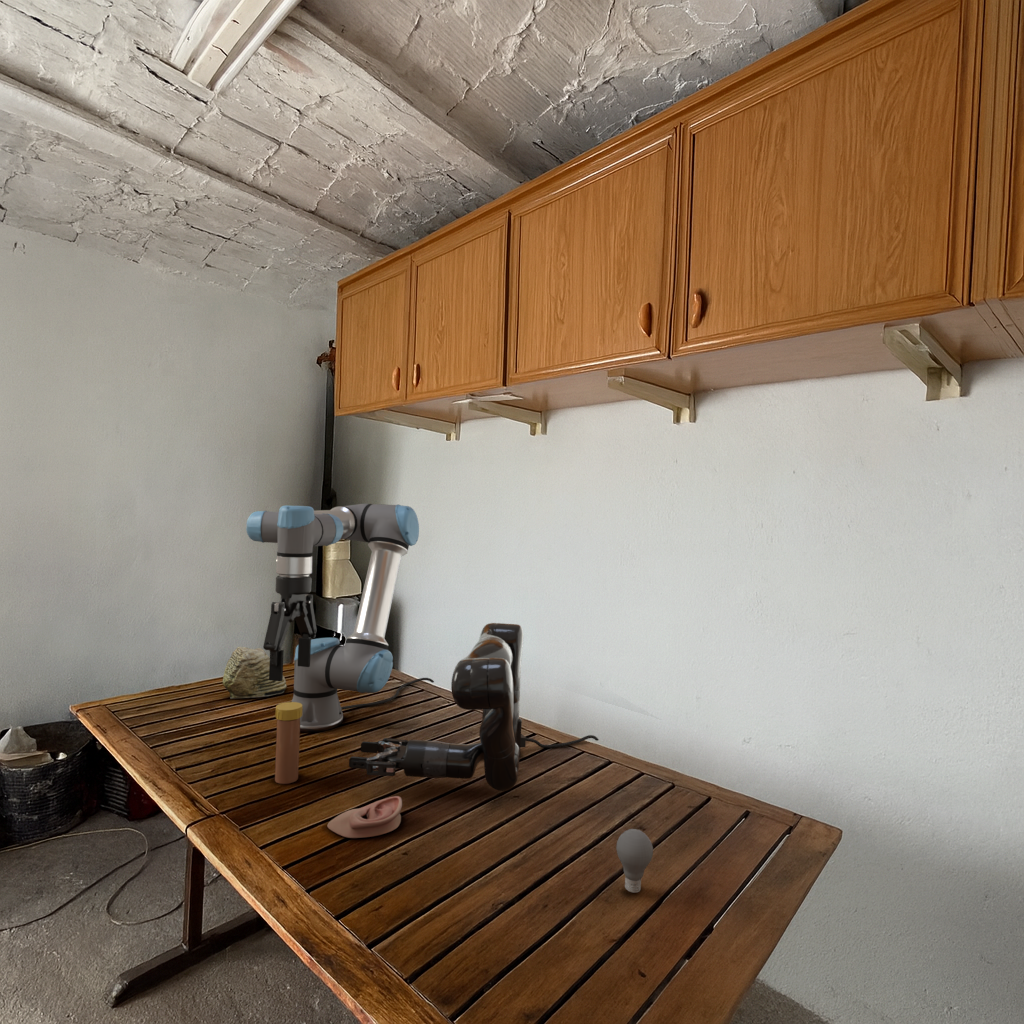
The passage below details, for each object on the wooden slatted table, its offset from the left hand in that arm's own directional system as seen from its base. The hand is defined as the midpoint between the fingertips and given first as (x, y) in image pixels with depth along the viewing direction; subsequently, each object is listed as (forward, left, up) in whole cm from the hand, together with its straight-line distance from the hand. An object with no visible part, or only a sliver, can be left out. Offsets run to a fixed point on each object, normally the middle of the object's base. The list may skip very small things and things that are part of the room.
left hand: (290, 673), depth 141 cm
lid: (0, 0, -8) cm, 8 cm away
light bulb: (-16, +77, -24) cm, 83 cm away
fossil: (-25, -59, -24) cm, 69 cm away
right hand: (-9, +13, -17) cm, 23 cm away
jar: (0, 0, -24) cm, 24 cm away
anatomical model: (+1, +28, -24) cm, 37 cm away
